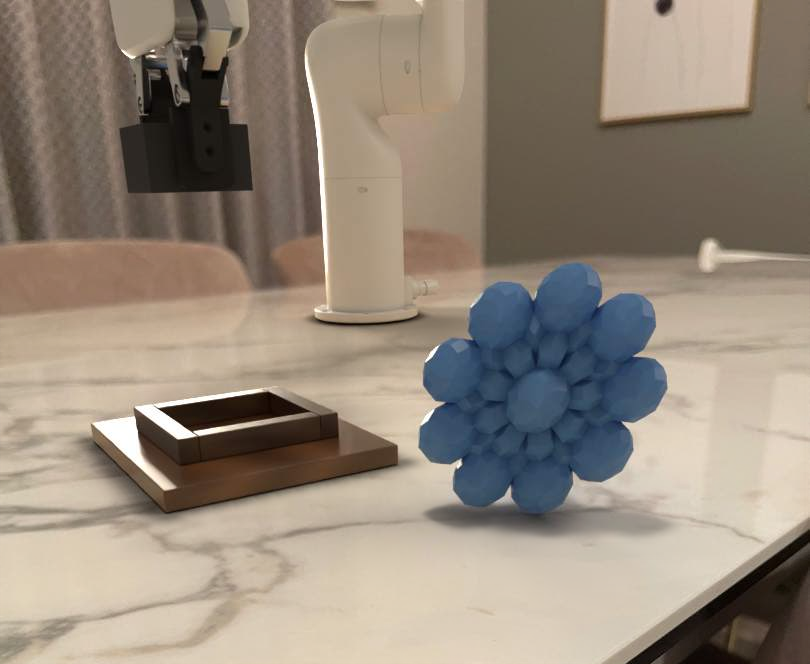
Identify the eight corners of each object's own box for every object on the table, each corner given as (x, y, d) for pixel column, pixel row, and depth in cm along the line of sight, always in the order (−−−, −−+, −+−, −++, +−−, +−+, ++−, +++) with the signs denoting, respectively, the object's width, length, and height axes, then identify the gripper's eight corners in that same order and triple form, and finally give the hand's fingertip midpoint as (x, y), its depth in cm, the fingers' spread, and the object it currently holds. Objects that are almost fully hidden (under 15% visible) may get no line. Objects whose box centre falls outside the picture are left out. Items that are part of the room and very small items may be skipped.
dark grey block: (223, 190, 53) (217, 129, 52) (253, 190, 49) (248, 124, 48) (127, 193, 51) (118, 128, 49) (151, 193, 47) (142, 122, 45)
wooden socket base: (286, 409, 63) (283, 372, 62) (398, 464, 50) (397, 419, 49) (93, 440, 56) (86, 400, 55) (166, 513, 43) (159, 463, 42)
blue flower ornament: (643, 487, 45) (666, 253, 41) (660, 536, 39) (689, 267, 35) (428, 481, 47) (426, 255, 42) (412, 527, 41) (407, 268, 36)
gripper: (284, -255, 38) (310, 185, 45) (169, -138, 51) (203, 187, 58) (114, -296, 34) (172, 189, 41) (38, -159, 48) (92, 189, 55)
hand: (190, 184), depth 50 cm, fingers closed on dark grey block, 5 cm apart
